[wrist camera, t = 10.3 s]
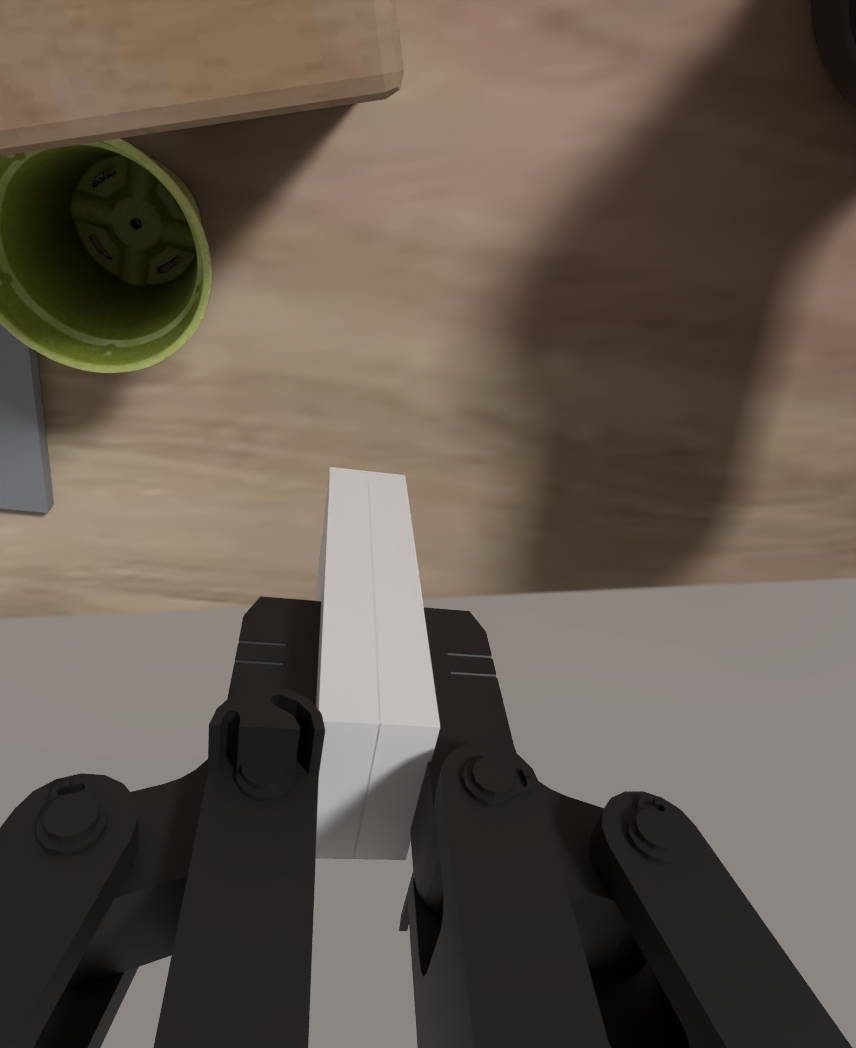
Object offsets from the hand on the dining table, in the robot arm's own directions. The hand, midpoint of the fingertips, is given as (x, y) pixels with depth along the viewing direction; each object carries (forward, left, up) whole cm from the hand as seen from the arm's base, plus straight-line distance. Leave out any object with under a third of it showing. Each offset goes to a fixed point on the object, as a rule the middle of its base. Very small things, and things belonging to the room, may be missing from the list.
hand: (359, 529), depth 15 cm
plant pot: (0, -10, -27) cm, 29 cm away
